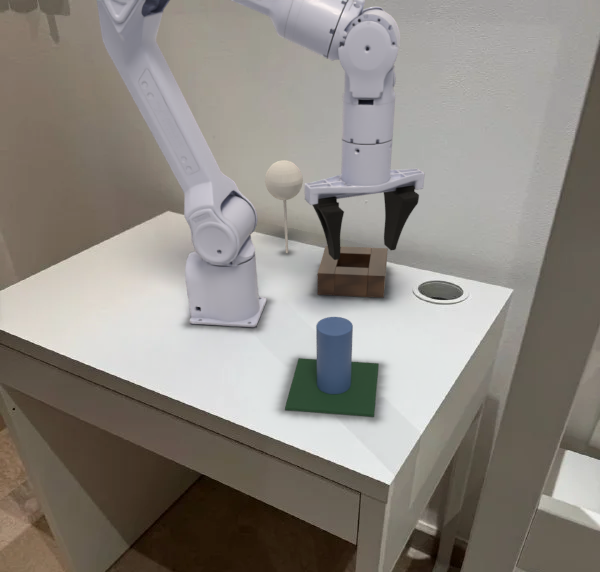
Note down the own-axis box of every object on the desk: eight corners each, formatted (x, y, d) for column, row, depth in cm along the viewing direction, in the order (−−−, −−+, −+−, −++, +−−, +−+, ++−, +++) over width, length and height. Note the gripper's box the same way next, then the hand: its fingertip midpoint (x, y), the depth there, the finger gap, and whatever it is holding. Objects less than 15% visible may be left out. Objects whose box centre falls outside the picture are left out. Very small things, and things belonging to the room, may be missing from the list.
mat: (285, 410, 67) (284, 407, 66) (298, 360, 74) (298, 358, 74) (374, 417, 65) (374, 414, 65) (378, 365, 73) (378, 363, 73)
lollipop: (311, 255, 99) (309, 162, 90) (280, 263, 97) (275, 169, 88) (293, 242, 103) (290, 153, 94) (263, 250, 101) (257, 159, 92)
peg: (311, 389, 69) (310, 331, 64) (324, 371, 72) (324, 313, 67) (343, 397, 67) (345, 338, 63) (355, 378, 70) (357, 320, 65)
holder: (317, 294, 88) (317, 273, 86) (325, 266, 96) (325, 245, 93) (383, 298, 87) (385, 276, 84) (386, 268, 94) (387, 248, 92)
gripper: (409, 123, 71) (400, 231, 80) (294, 136, 68) (298, 248, 76) (437, 137, 66) (425, 252, 74) (315, 152, 62) (316, 270, 71)
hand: (362, 251), depth 75 cm, fingers open, 7 cm apart
